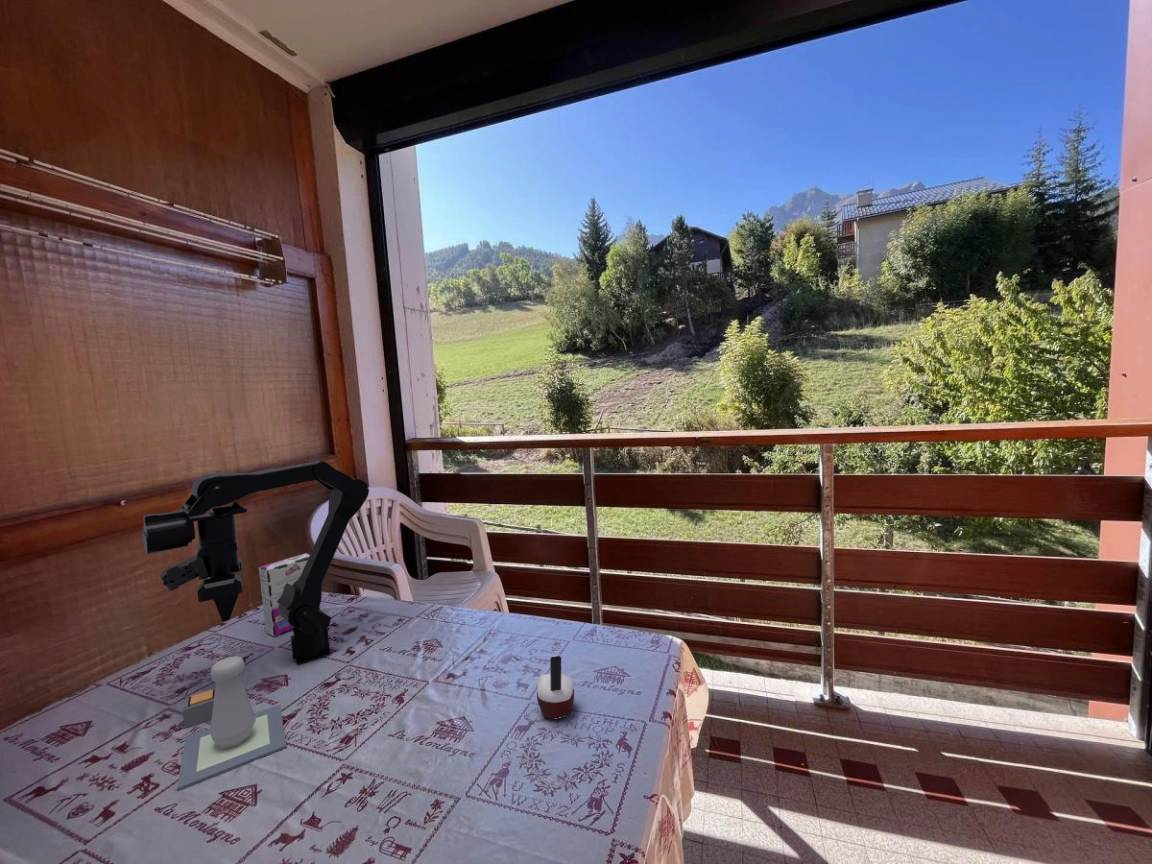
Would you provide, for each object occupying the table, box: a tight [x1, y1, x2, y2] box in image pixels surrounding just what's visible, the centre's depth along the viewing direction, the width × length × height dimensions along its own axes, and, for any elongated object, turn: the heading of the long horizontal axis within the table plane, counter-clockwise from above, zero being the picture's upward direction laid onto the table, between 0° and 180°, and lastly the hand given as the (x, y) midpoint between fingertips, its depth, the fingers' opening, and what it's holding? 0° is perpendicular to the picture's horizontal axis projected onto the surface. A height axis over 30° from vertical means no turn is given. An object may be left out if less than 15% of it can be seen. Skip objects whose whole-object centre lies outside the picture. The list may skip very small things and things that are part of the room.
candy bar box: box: [258, 553, 321, 638], centre depth 116 cm, size 11×5×16 cm, turn 147°
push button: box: [190, 688, 214, 706], centre depth 82 cm, size 3×3×3 cm
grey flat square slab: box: [176, 704, 287, 791], centre depth 75 cm, size 13×13×1 cm
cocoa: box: [536, 655, 575, 719], centre depth 78 cm, size 10×6×12 cm, turn 167°
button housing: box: [182, 687, 215, 730], centre depth 82 cm, size 5×5×3 cm
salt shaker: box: [210, 655, 256, 750], centre depth 75 cm, size 6×6×13 cm
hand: (225, 620), depth 90 cm, fingers closed
